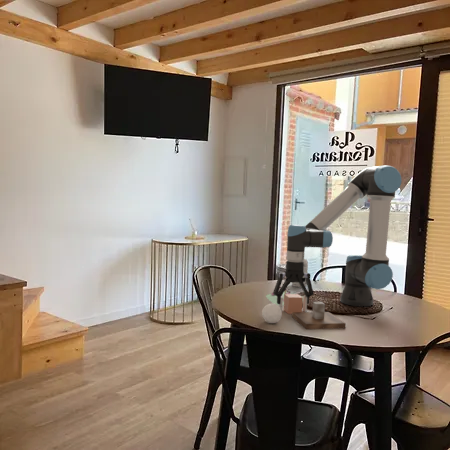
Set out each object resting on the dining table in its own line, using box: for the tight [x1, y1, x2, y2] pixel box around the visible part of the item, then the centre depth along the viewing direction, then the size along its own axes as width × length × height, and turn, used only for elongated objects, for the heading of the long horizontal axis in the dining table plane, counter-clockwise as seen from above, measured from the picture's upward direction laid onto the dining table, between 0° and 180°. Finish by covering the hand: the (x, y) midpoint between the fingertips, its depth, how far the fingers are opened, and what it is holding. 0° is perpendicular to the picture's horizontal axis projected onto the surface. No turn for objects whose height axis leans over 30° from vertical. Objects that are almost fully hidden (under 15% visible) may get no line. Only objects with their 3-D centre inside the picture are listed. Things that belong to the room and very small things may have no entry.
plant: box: [265, 279, 304, 307], centre depth 215 cm, size 25×21×9 cm
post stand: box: [291, 301, 347, 330], centre depth 178 cm, size 16×16×8 cm
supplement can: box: [291, 258, 309, 288], centre depth 247 cm, size 8×8×15 cm
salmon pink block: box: [283, 293, 303, 315], centre depth 192 cm, size 6×6×7 cm
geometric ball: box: [261, 303, 283, 324], centre depth 175 cm, size 8×8×8 cm
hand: (292, 311), depth 193 cm, fingers open, 10 cm apart
